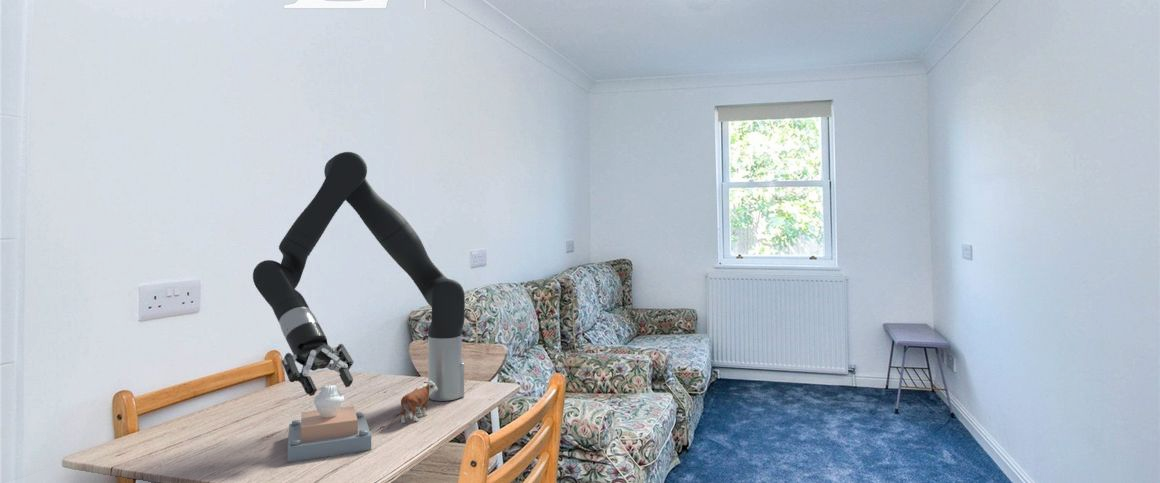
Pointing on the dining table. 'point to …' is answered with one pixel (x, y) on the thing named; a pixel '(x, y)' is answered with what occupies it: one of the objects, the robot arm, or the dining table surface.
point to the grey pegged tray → (328, 435)
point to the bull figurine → (417, 400)
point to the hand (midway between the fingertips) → (332, 389)
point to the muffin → (329, 401)
